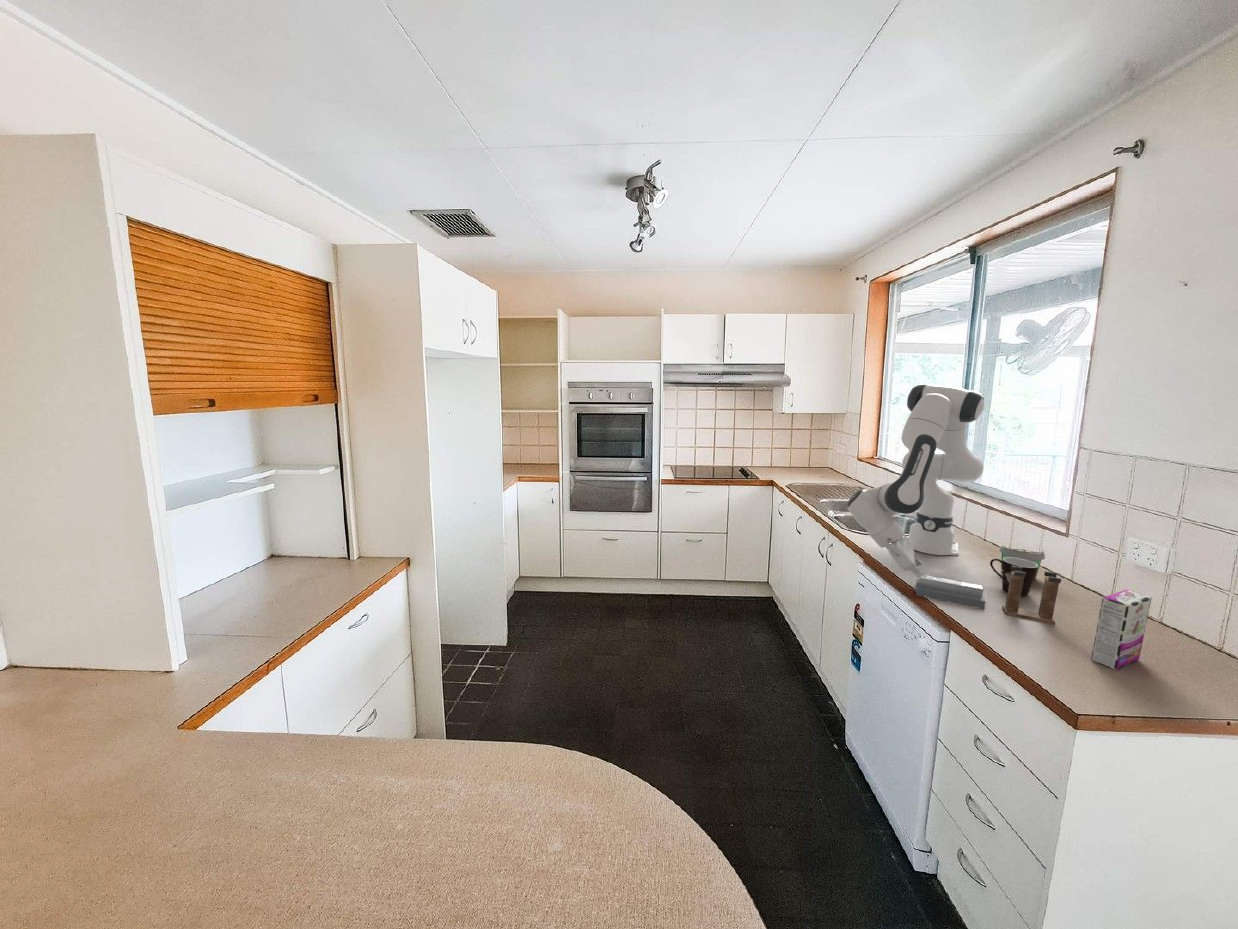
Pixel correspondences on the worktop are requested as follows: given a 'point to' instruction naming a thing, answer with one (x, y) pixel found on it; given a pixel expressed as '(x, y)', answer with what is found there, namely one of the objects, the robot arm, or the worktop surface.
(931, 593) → the board
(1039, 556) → the food container
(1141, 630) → the candy bar box
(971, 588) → the rail
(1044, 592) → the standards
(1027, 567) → the coffee mug
